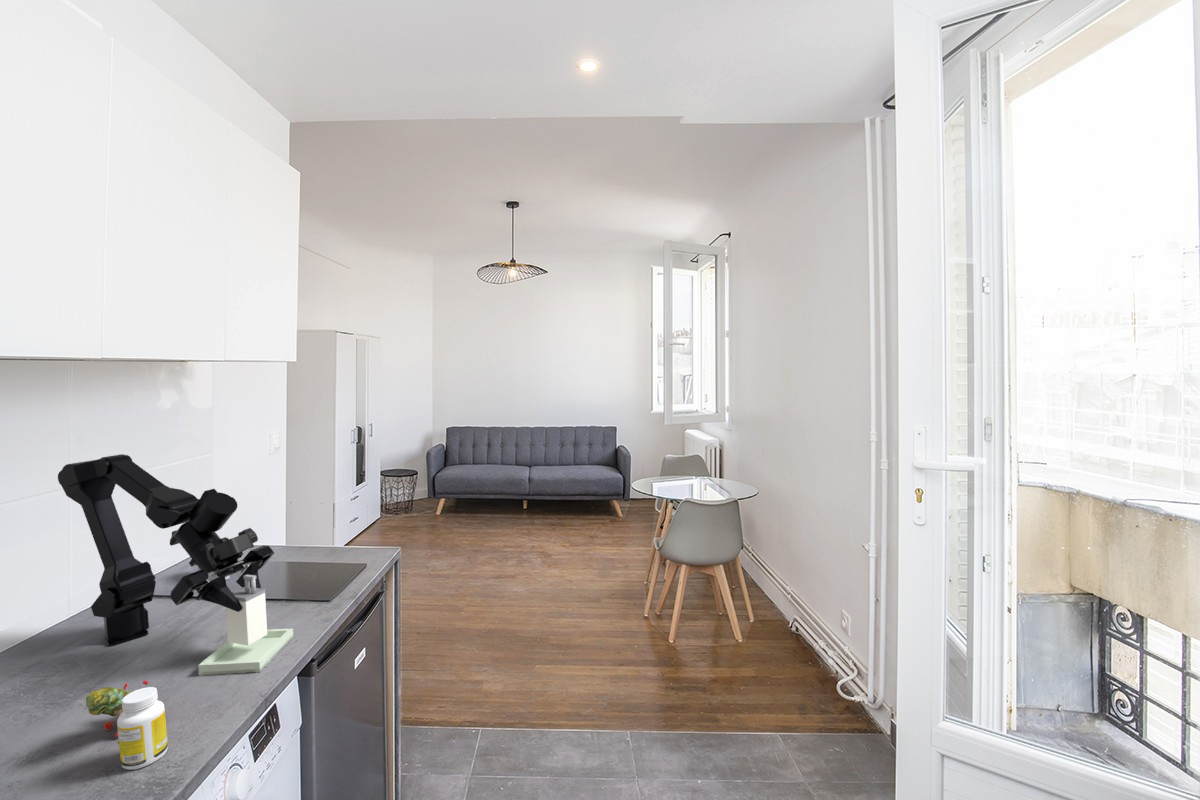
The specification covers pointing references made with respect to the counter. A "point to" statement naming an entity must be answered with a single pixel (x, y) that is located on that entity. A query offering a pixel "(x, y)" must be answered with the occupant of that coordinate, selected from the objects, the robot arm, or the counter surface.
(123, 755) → the supplement bottle
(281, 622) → the counter surface
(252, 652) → the tray
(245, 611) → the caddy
